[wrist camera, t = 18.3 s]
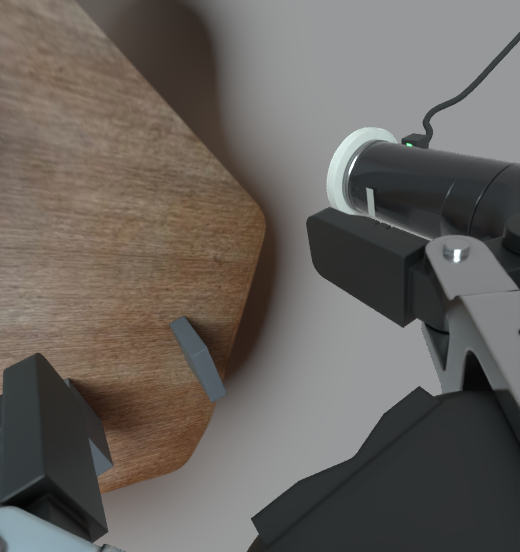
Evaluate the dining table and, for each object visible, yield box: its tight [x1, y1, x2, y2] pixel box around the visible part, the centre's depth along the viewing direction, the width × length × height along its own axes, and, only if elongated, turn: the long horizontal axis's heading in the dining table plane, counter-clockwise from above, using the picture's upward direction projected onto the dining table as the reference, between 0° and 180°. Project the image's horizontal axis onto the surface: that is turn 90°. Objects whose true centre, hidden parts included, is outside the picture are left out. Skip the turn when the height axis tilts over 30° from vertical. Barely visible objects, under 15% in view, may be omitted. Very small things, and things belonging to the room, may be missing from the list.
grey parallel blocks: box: [64, 316, 226, 476], centre depth 41 cm, size 16×8×7 cm, turn 104°
